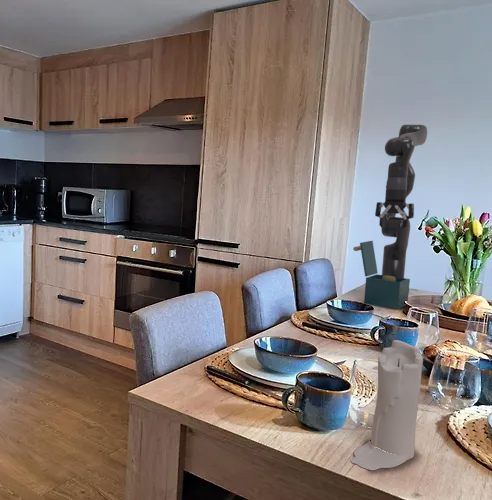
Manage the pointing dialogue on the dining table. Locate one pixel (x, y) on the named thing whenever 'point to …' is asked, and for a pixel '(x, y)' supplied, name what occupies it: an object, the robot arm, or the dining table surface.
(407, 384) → the candle
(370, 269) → the bin lid
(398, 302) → the bin
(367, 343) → the dining table surface
